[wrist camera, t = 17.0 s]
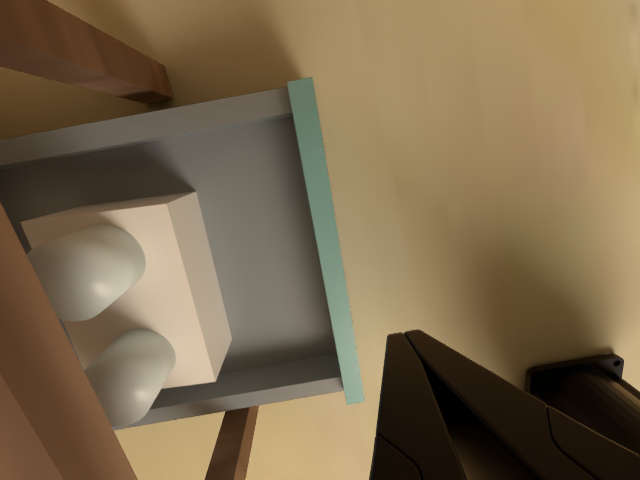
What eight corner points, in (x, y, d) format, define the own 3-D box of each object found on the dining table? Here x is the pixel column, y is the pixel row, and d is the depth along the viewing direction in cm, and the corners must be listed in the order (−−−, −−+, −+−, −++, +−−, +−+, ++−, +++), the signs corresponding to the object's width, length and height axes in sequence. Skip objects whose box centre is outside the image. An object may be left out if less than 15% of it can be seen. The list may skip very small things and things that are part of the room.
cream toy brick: (196, 191, 16) (133, 217, 10) (232, 339, 18) (198, 426, 13) (80, 205, 16) (-48, 240, 10) (133, 351, 18) (55, 444, 13)
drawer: (310, 93, 16) (312, 76, 12) (354, 353, 20) (365, 401, 17) (-32, 156, 16) (-140, 160, 12) (90, 399, 21) (41, 456, 17)
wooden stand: (163, 65, 15) (-357, -224, 3) (260, 397, 21) (202, 711, 10) (-70, 109, 15) (-1379, -17, 3) (93, 425, 22) (-169, 771, 10)
